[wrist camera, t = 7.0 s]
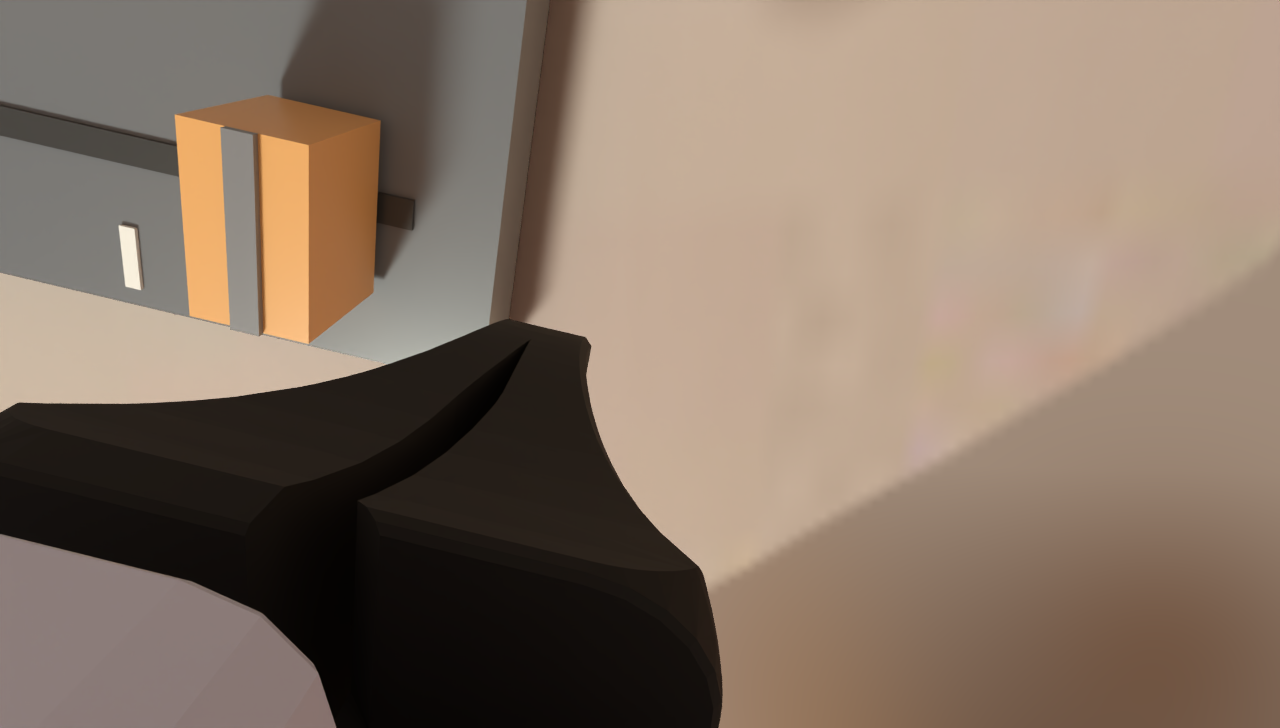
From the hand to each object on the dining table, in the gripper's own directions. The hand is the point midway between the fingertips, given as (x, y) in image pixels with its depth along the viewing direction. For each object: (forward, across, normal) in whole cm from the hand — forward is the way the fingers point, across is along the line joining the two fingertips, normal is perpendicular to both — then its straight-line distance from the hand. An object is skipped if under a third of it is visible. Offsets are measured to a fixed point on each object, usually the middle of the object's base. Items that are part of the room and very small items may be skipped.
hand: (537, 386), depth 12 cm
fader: (+6, +6, 0) cm, 9 cm away
